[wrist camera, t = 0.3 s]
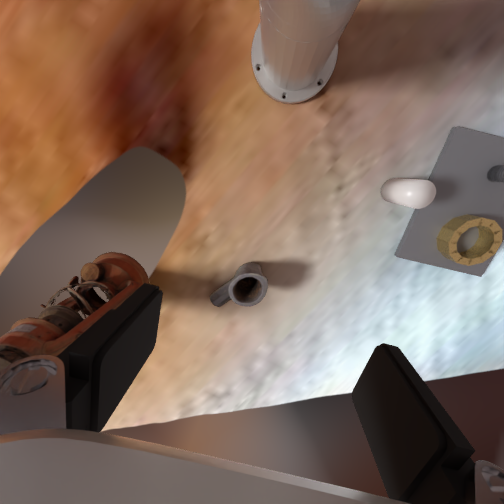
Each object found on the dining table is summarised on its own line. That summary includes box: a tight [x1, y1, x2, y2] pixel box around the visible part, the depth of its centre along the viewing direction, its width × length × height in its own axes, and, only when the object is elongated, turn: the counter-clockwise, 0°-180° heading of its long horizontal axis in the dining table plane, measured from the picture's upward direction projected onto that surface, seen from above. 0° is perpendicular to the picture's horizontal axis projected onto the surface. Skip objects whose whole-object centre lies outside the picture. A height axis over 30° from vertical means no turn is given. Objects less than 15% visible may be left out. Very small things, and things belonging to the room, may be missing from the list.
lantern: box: [0, 252, 150, 371], centre depth 36 cm, size 17×13×30 cm
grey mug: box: [210, 262, 268, 307], centre depth 45 cm, size 6×13×8 cm, turn 129°
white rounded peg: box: [381, 178, 436, 209], centre depth 37 cm, size 4×4×8 cm
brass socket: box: [437, 214, 502, 266], centre depth 41 cm, size 8×8×3 cm
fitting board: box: [395, 127, 504, 277], centre depth 41 cm, size 22×16×1 cm
